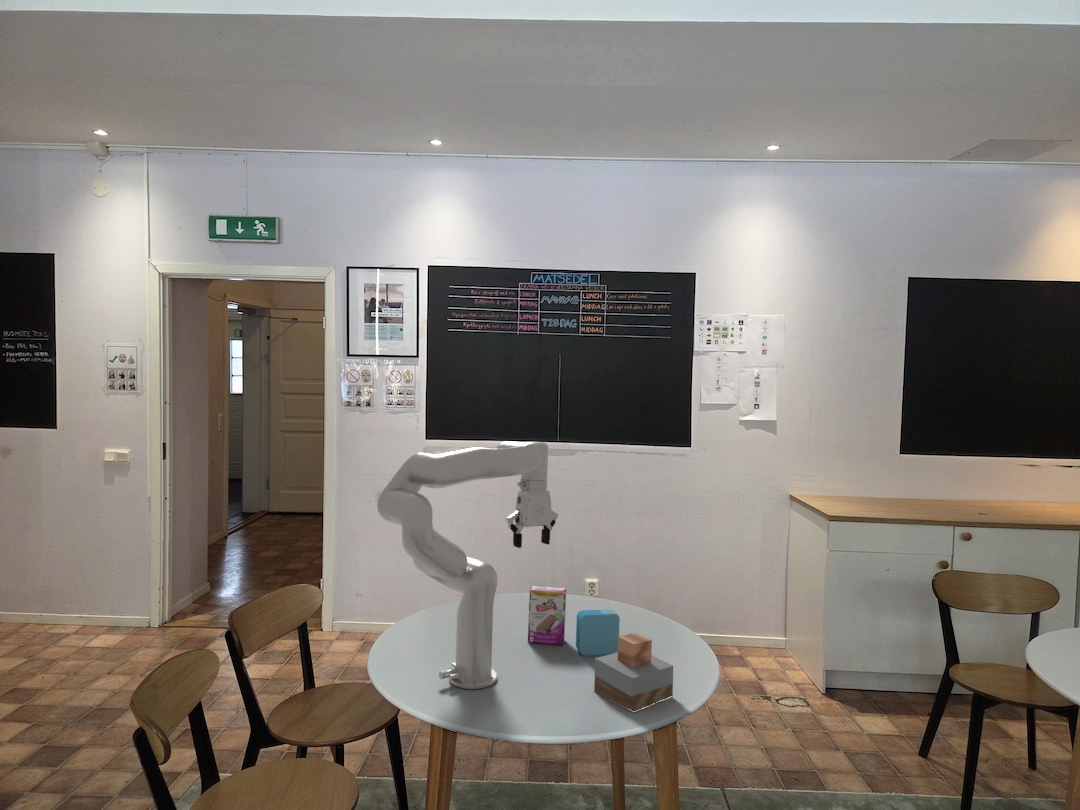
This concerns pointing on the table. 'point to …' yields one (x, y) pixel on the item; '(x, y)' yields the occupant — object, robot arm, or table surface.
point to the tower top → (633, 674)
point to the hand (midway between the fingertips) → (531, 545)
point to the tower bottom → (635, 701)
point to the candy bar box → (547, 615)
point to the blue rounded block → (597, 632)
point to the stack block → (634, 650)
